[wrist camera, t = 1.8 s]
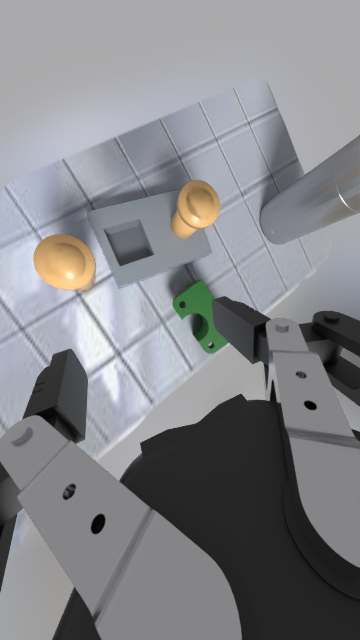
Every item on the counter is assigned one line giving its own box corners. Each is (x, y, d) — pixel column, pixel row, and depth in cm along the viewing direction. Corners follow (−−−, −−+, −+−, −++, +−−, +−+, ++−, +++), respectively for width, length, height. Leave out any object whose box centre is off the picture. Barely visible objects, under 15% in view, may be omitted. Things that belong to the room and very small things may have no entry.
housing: (182, 197, 34) (208, 153, 25) (204, 257, 36) (236, 237, 27) (89, 221, 30) (76, 178, 20) (119, 289, 31) (120, 278, 22)
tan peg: (91, 254, 30) (80, 227, 21) (107, 288, 31) (103, 278, 21) (53, 266, 28) (22, 243, 19) (71, 301, 29) (49, 296, 20)
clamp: (172, 306, 39) (163, 293, 30) (196, 288, 39) (194, 270, 30) (208, 355, 37) (210, 358, 28) (233, 337, 37) (243, 333, 28)
